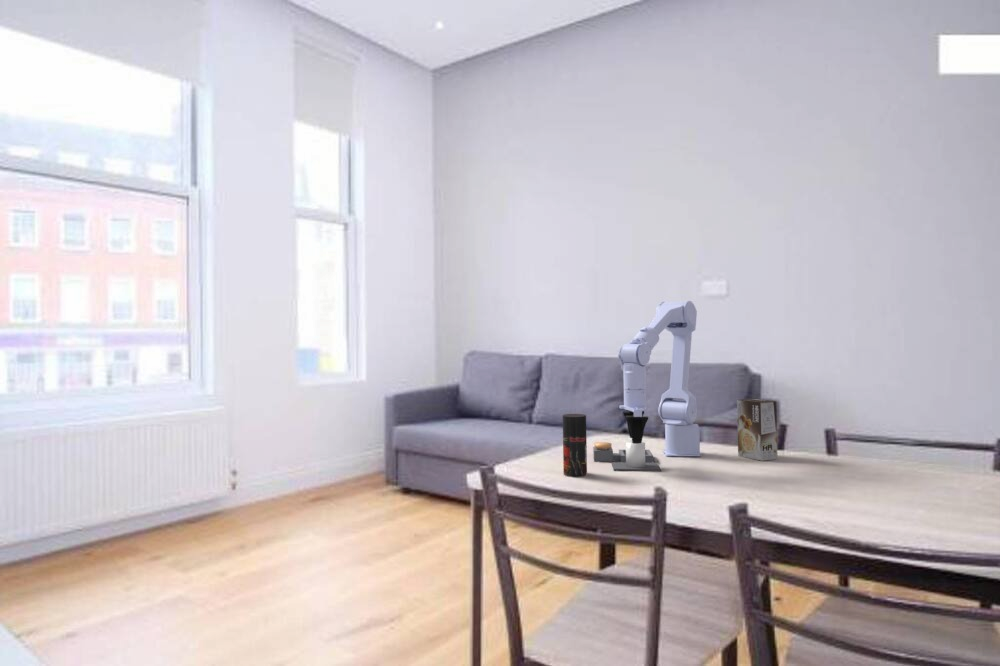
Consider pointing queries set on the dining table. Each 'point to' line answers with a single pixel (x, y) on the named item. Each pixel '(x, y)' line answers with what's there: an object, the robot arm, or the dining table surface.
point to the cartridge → (635, 454)
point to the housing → (616, 455)
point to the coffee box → (757, 429)
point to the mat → (622, 467)
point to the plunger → (602, 445)
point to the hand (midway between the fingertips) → (635, 440)
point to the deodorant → (574, 445)
